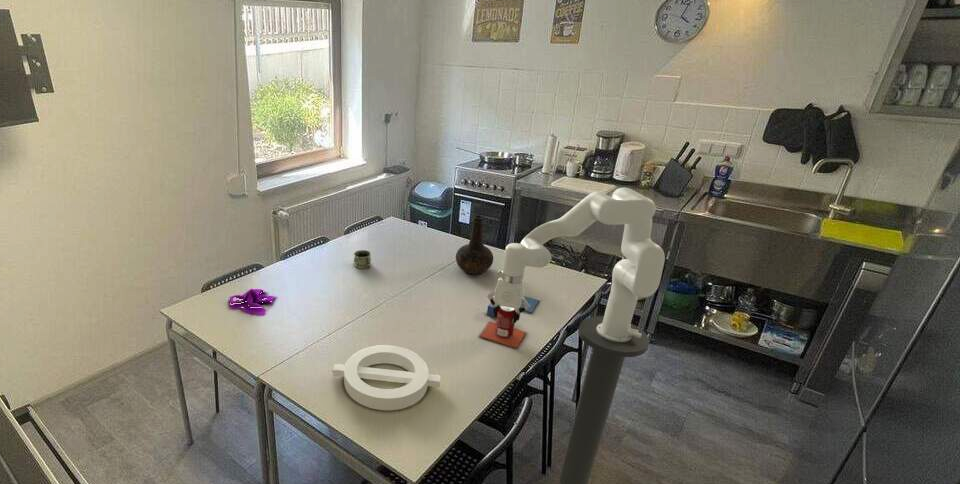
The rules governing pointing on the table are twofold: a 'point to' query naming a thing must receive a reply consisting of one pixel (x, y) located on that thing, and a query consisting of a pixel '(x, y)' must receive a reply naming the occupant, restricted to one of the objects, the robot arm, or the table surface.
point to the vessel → (362, 258)
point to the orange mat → (509, 341)
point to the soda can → (505, 321)
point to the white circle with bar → (386, 377)
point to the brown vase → (475, 251)
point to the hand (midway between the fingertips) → (505, 318)
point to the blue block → (491, 310)
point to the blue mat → (532, 302)
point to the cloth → (252, 301)
